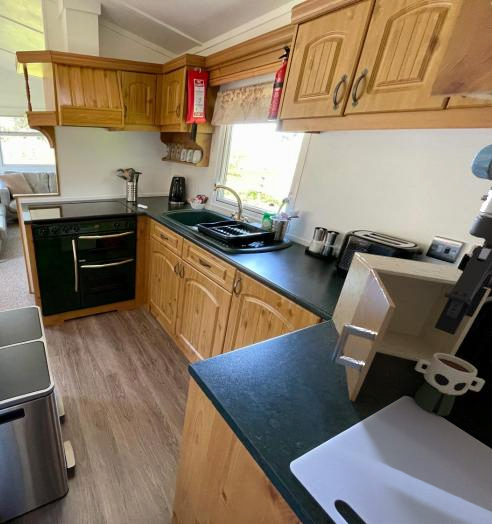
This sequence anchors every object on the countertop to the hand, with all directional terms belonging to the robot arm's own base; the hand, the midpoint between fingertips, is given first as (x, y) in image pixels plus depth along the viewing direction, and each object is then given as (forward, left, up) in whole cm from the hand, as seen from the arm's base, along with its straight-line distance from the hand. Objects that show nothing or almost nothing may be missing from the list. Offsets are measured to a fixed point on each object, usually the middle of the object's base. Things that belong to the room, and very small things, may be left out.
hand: (454, 322), depth 58 cm
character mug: (-4, -6, -25) cm, 26 cm away
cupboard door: (+15, -7, -24) cm, 29 cm away
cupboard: (+5, -33, -24) cm, 41 cm away
